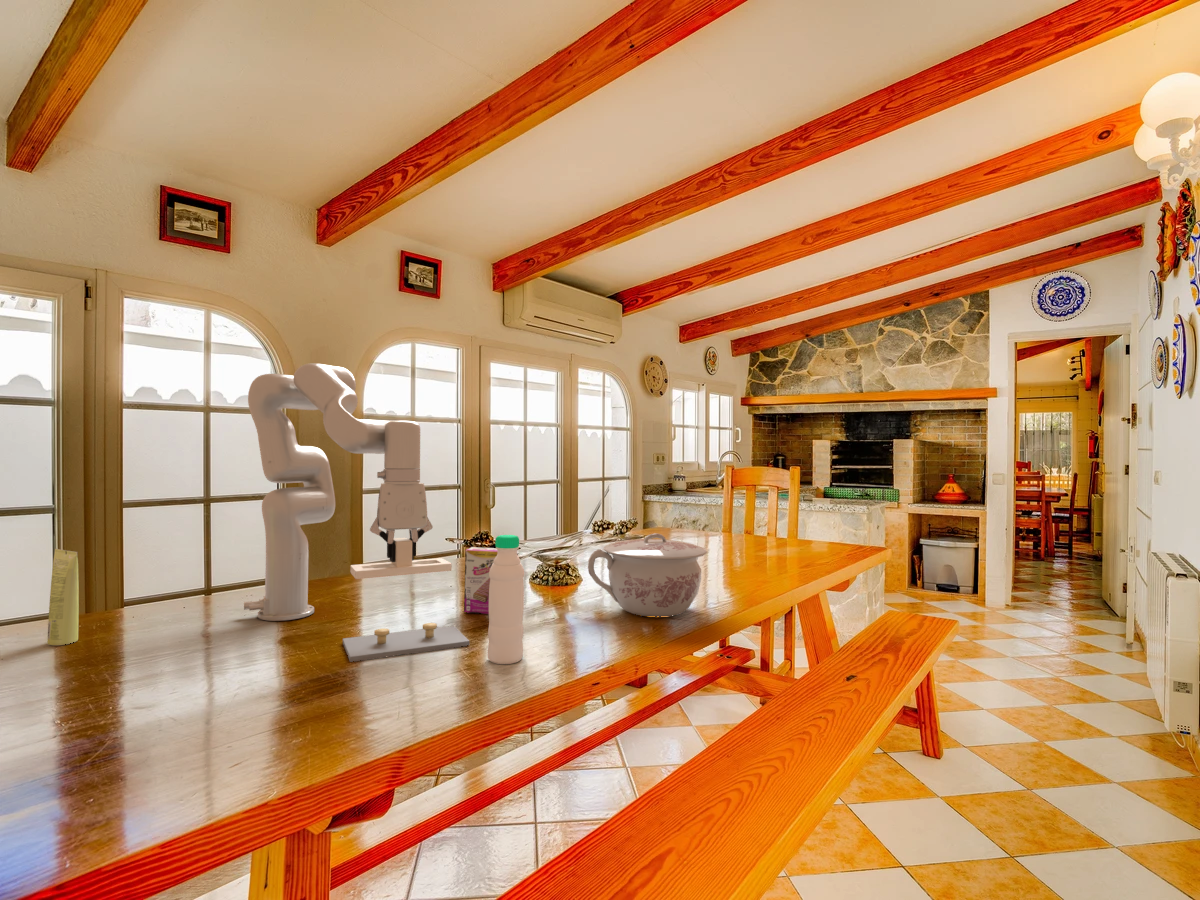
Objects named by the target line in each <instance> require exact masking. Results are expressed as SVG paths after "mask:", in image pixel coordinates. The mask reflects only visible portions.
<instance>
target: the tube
mask: <svg viewBox="0 0 1200 900" xmlns="http://www.w3.org/2000/svg"><path fill="white" fill-rule="evenodd" d="M50 580H51V582H50V592H49V593H50V594H49V607H48V608H49V609H48V622H47V623H48V624H47V625H48V626H47V645H49V646H65V644H66V645H69V644H70V643H71V644H74V643H76V642H78V640H79V613H80V611H79V609H80V608H79V607H80V606H79V595H80V591H79V590H80V589H79V558H78V551H71V550H66V549H65V550H64V549H59V548H55V549H54V554H53V560H52V569H51V579H50ZM73 642H74V643H73ZM71 644H70V645H71Z"/></svg>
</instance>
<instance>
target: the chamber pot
mask: <svg viewBox="0 0 1200 900" xmlns="http://www.w3.org/2000/svg"><path fill="white" fill-rule="evenodd" d="M706 554H708V551H707V549H705V548H704V547H701V546H700V545H697V544H694V543H689V542H685V541H679V540H672V539H666V537H665V536H664V535H663V534H662V533H651V534H648V535H646V536H645V537H644V538H636V539H626V540H620V541H615V542H612V543H609V544H606V545H604V547H603V549H601V548H598V549H596V550H595V551H593V552H592V553H591V555H590V557H589V558H588V561H587V570H588V574H589V576H590V577H591V578H592V580H593V581H594V583H596V584H597V585H599V587H601V588H603V589H604V590H605V591H606V592H607V593H608V594H609V595H610V596H611V597H612V599H613V600H614V601H615V602H616V603H618V606H620V608H621V609H623V611H626V612H628V613H630V614H632V615H635V614H636V615H635V616H637V615H641V616H640V617H642V616H655V617H657V616H659V617H661V616H672V615H675V616H678V615H680V614H684V613H685V612H686V611H687V610H688V609H690V607H691V605H692V604H693V601H694V600H695V599H696V597H697V595H698V594H699V590H700V586H701V582H702V568H701V566H700V565H699V562H698V559H699V558H700V557H704V556H705V555H706ZM598 558H603V559H605V560H607V561H606V562H607V563H606V564H607V565H606V567H607V569H608V581H609V584H608V583H606V582H604V581H602V580H601V579H600V578H599V577H598V575H597V574H596V571H595V568H594V567H595V562H596V559H598ZM677 614H678V615H677ZM672 617H673V616H672Z"/></svg>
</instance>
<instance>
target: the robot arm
mask: <svg viewBox="0 0 1200 900" xmlns="http://www.w3.org/2000/svg"><path fill="white" fill-rule="evenodd" d="M356 385H357V383H356V379H355V377H354V375H353V373H352V372H351V371H349V370H348V369H347V368H345V367H342V366H336V365H330V364H323V363H315V362H312V363H311V362H309V363H305V364H302V365H300V366H299V367H298V368H297V369H296V370H295V372H294V373H293V374H284V373H264V374H261V375H258V376H257V377H255V378H254V380H253V381H252V382H251V384H250V386H249V389H248V395H247V405H248V409H249V412H250V416H251V418H252V420H253V423H254V427H255V429H256V433H257V439H258V447H259V452H260V453H259V454H260V459H261V465H262V470H263V474H264V477H265V478H266V480H268V482H271V483H275V484H293V483H294V484H295V483H296V484H297V483H299V484H300V483H302V484H303V486H302V487H301V486H295V487H294V486H293V487H282V488H277V489H274V490H271V491H270V492H268V493H267V494H266V495H265V496H264V497H263V500H262V502H261V513H262V519H263V524H264V533H265V575H264V576H265V579H264V581H265V583H264V587H265V588H264V591H265V592H264V595H263V598H259V599H258V600H255V601H252V600H251V601H243V610H248V611H257V610H259V611H258V612H257V618H258V619H259V620H263V621H268V622H269V621H270V622H279V621H280V622H281V621H291V620H298V619H303V618H305V617H306V618H307V617H309V616H310V615H311V616H312V614H314V613H315V607H314V606H313V605H311V604H309V603H308V600H309V599H308V598H309V597H308V594H309V541H308V537H307V535H306V534H305V531H303V529H302V527H301V526H303V525H311V524H319V523H324V522H327V521H328V520H330V519H331V518H332V517H333V515H334V513H335V509H336V496H335V489H334V484H333V478H332V471H331V466H330V461H329V458H328V457H327V455H326V453H325V452H324V451H323V450H322V449H321V448H319V447H316V446H312V445H300V444H298V440H297V436H296V429H295V427H294V425H293V423H292V421H291V420H290V418H289V417H288V416H287V415H286V414H285V413H284V412H283V409H290V410H300V411H301V410H302V411H305V410H306V411H317V410H318V411H320V412H321V413H322V414H323V416H322V421H323V427H324V430H325V432H326V434H327V435H328V436H329V438H330V439H331V440H332V441H333V442H335V444H337V445H338V446H339V447H340V448H342V449H343V450H345V451H346V452H348V453H352V454H358V455H360V454H361V455H362V454H363V455H364V454H377V455H383V454H384V455H383V456H384V457H383V458H384V461H383V462H384V468H383V470H382V471H377V473H376V474H377V475H376V477H377V479H382V480H383V482H382V483H380V487H379V493H378V500H377V501H378V502H377V510H376V517H375V518H374V519H375V520H374V521H373V523H372V525H371V526H370V527H369V532H371V533H373V534H375V535H376V536H379V537H380V538H381V539H383V540H384V541H385V542H386V558H387V559H389V562H395V558H396V545H395V544H394V538H395V534H396V533H395V532H396V530H408V533H409V538H408V539H410V540H411V541H412V561H413V560H415V559H414V558H415V557H416V556H417V542H418V541H419V539H420V538H421V537H422V536H423V535H424V534H425V533H427V532H429V531H430V530H432V529H433V527H434V526H433V524H432V523H431V521H430V519H429V518H428V507H427V505H428V503H427V495H426V487H425V483H423V482H421V426H420V424H419V423H418V422H416V421H412V420H390V421H389V420H378V419H364V418H363V419H362V418H361V419H359V418H356V417H355V416H353V414H354V412H355V411H356V409H357V408H358V407H357V406H358V403H359V401H358V400H359V398H358V395H357V393H356V392H355V391H356V387H357V386H356ZM379 527H380V528H381V529H380V528H379ZM382 529H383V530H382ZM384 530H385V531H384Z"/></svg>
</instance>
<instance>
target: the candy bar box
mask: <svg viewBox="0 0 1200 900" xmlns="http://www.w3.org/2000/svg"><path fill="white" fill-rule="evenodd" d="M497 554H498V551H497V549H496V547H495V548H494V547H476V546H471V547H469V548H466V549H465V556H464V557H465V561H464V563H465V564H464V595H463V597H464V599H463V600H464V601H463V613H464V612H467V613H466V614H479V613H481V614H482V615H483V614H484V615H489V585H490V577H489V571H490V568H491V566H492V564H493V563H494V559H495V557H496V556H497ZM481 614H480V615H481Z"/></svg>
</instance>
